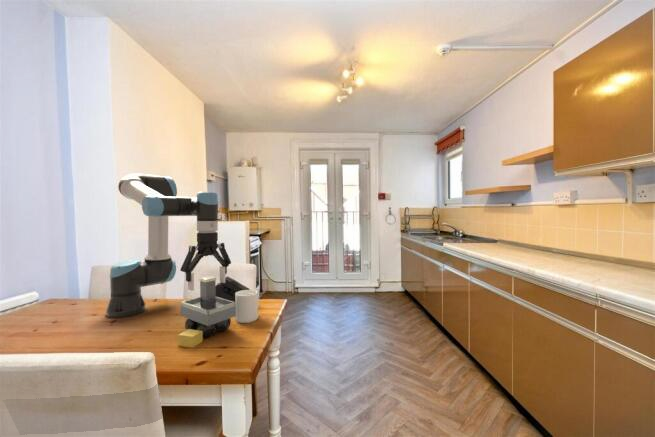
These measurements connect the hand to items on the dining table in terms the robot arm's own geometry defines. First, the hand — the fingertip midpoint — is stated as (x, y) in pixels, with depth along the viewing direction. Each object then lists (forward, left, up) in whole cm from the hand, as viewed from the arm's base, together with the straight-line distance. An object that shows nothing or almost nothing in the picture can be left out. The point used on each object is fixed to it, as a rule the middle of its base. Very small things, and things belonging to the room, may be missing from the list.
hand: (207, 285), depth 113 cm
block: (+5, -10, -18) cm, 21 cm away
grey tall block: (0, 0, -8) cm, 8 cm away
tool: (-17, +24, -18) cm, 34 cm away
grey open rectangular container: (0, 0, -18) cm, 18 cm away
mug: (+2, +18, -18) cm, 26 cm away
